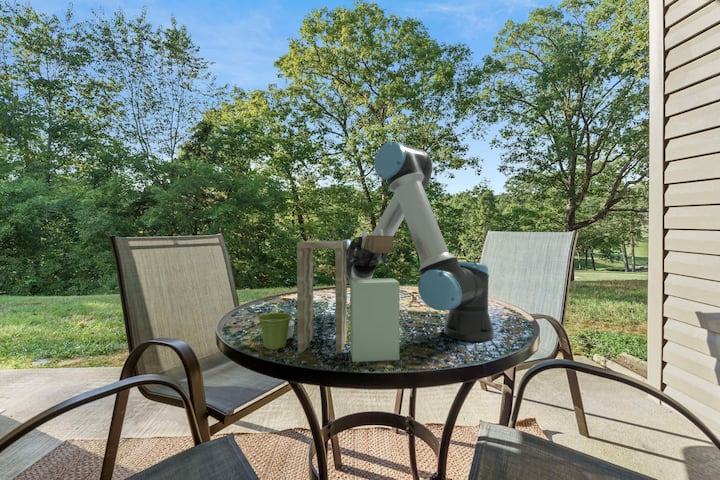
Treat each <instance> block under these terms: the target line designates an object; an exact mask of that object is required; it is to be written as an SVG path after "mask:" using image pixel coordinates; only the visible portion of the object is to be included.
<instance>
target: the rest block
mask: <svg viewBox="0 0 720 480" xmlns="http://www.w3.org/2000/svg"><path fill="white" fill-rule="evenodd" d="M349 289H350V290H349V297H350V298H349V302H350V305H349V309H350V311H349V316H350V317H349V321H350V323H349V327H350V328H349V329H350V330H349V333H350V335H349V336H350V338H349V339H350V341H349V342H350V343H349V344H350V345H349V346H350V347H349V348H350V349H349V350H350V352H349V353H350V356H351V360H352V362H353V363H356V362H361V363H362V362H383V361H385V362H387V361H400V281H398V280H397V279H395V278H393V277H387V278H386V277H382V278H381V277H380V278H379V277H377V278H373V277H372V278H368V279H350V287H349Z"/></svg>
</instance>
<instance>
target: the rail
mask: <svg viewBox="0 0 720 480" xmlns="http://www.w3.org/2000/svg"><path fill="white" fill-rule="evenodd" d="M393 241H394V236H380V235H372V234H371V235H370V234H369V235H368V234H367V238H366V242H365V245H364V248H363V249H366V250H369V251H372V252H374V253H388V254H393V252H394V250H393V247H394V246H393V245H394V242H393Z"/></svg>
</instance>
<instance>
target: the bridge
mask: <svg viewBox="0 0 720 480" xmlns="http://www.w3.org/2000/svg"><path fill="white" fill-rule="evenodd" d="M314 249H334V253H335V255H334V256H335V257H334V258H335V260H334V261H335V262H334V263H335V265H334V266H335V354H342V353H343V350H344V346H345V344H346V341H347V339H348V287H347V286H348V283H347V282H348V277H347V241H343V240H305V241H298V242H296V276H297V277H296V284H297V285H296V286H297V287H296V288H297V294H296V295H297V297H296V299H297V300H296V301H297V304H296V305H297V306H296V307H297V308H296V309H297V313H296V315H297V353H304V352H305V350H306V349H307V347H308V346H309V344H310V343H311V341H312V340H313V338H314V329H315V328H314Z"/></svg>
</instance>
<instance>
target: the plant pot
mask: <svg viewBox="0 0 720 480" xmlns="http://www.w3.org/2000/svg"><path fill="white" fill-rule="evenodd" d="M292 317H293V316H292V314H290V313H285V312H269V313H265V314H260V315H259V316H258V317H257V318H258V320H259V324H260V327H261V333H262V340H263V342H262V343H263V347H264V348H266V349H268V350H279V349H280V348H282V349H283V348H285V347H286V345H287V341H288V339H287V333H288V326H289V323H290V320H291V319H292Z"/></svg>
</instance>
